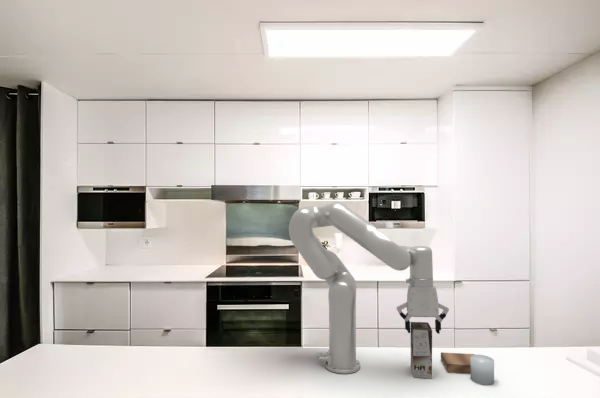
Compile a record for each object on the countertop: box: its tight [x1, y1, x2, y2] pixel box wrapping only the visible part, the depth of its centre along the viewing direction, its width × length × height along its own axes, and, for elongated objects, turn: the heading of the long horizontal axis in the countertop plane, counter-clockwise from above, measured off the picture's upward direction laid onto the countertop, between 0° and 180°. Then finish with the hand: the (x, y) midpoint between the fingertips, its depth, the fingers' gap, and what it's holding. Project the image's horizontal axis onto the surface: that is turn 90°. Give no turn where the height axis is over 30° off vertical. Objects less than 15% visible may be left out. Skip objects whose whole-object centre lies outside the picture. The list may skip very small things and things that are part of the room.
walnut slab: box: [440, 351, 476, 375], centre depth 134 cm, size 12×10×3 cm
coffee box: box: [410, 321, 433, 380], centre depth 131 cm, size 9×6×16 cm
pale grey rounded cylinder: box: [470, 354, 495, 386], centre depth 125 cm, size 7×7×7 cm
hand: (422, 332), depth 130 cm, fingers open, 9 cm apart
